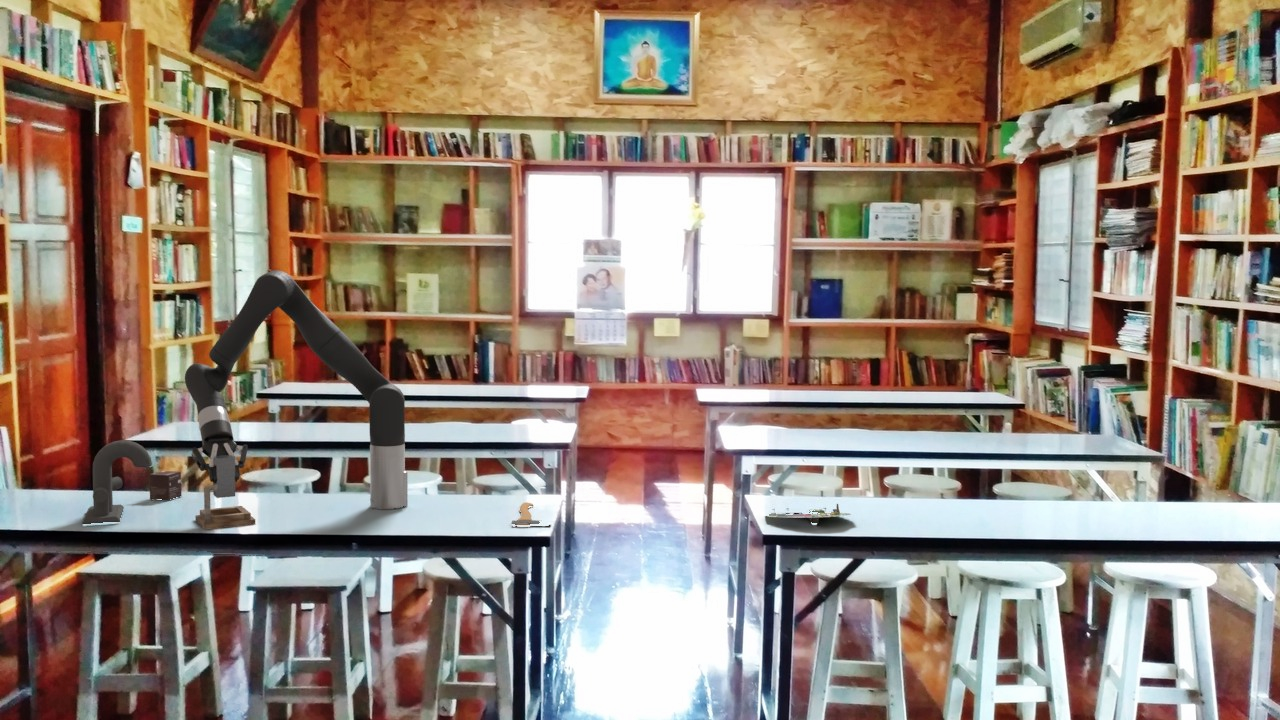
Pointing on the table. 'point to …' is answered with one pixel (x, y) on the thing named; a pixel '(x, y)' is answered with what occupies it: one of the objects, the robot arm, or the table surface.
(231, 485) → the grey upright tablet
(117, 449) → the faucet
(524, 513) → the tan hook stand
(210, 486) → the keeper
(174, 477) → the box
